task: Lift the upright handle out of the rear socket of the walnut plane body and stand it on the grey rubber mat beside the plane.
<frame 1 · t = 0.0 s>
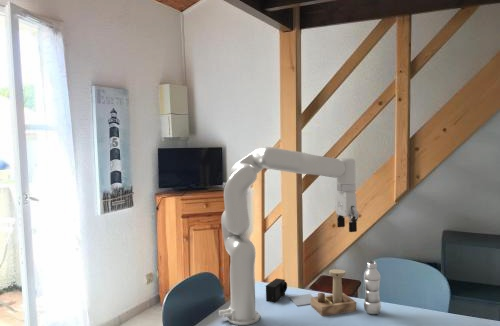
hand: (346, 229, 166), 31 cm above the table, tool pointing down, fingers open, 9 cm apart
digital camera: (277, 298, 175), on the table
mat: (303, 300, 172), on the table
handle: (337, 308, 164), resting in plane body
plane body: (333, 308, 163), on the table
plastic bottle: (372, 313, 158), on the table
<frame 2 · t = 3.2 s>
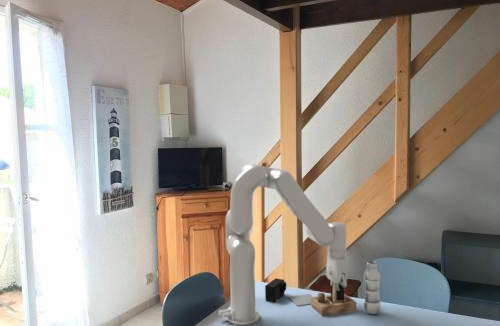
hand: (337, 297, 163), 4 cm above the table, tool pointing down, fingers closed on handle, 4 cm apart
handle: (337, 308, 164), resting in plane body, touching gripper
everything else where it was.
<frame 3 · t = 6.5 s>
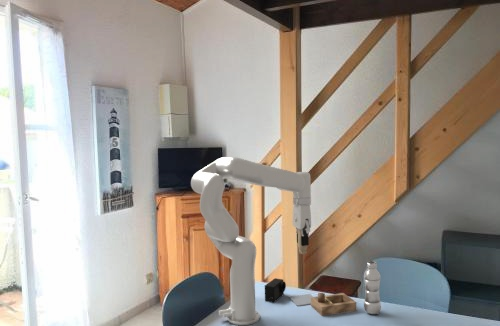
hand: (302, 243, 171), 25 cm above the table, tool pointing down, fingers closed on handle, 4 cm apart
handle: (303, 254, 171), point 20 cm above the table, touching gripper
everything else where it was.
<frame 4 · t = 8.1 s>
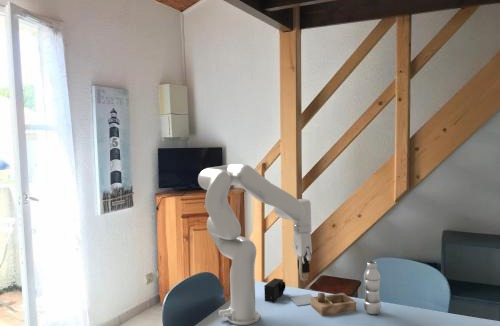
hand: (303, 270, 172), 13 cm above the table, tool pointing down, fingers closed on handle, 4 cm apart
handle: (304, 280, 172), point 8 cm above the table, touching gripper
everything else where it was.
when the fingers open (6 cm above the table, at t = 9.6 s): handle stays where it is, resting on mat.
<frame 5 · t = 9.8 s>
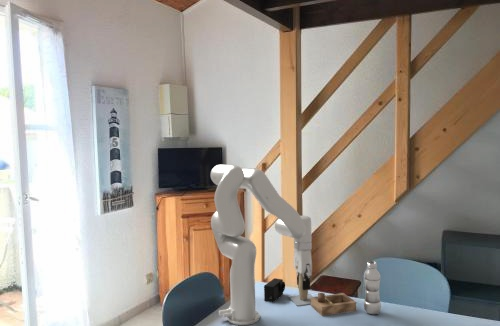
hand: (303, 286, 172), 6 cm above the table, tool pointing down, fingers open, 5 cm apart
handle: (303, 299, 172), resting on mat
everything else where it was.
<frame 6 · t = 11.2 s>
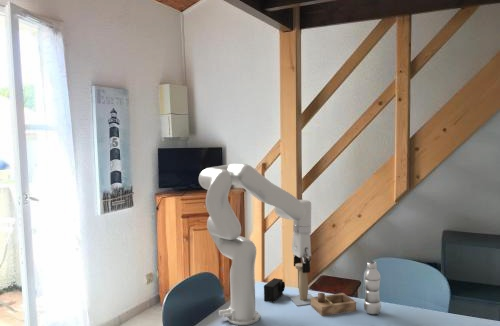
hand: (301, 269, 171), 14 cm above the table, tool pointing down, fingers open, 9 cm apart
nothing on the table moved.
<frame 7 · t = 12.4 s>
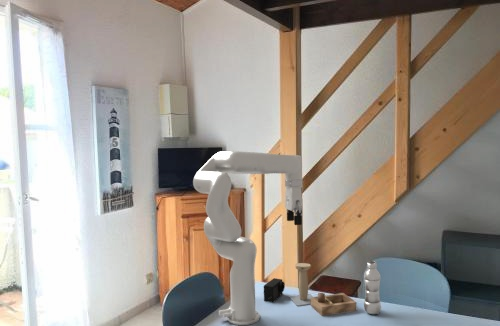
hand: (294, 222, 175), 33 cm above the table, tool pointing down, fingers open, 9 cm apart
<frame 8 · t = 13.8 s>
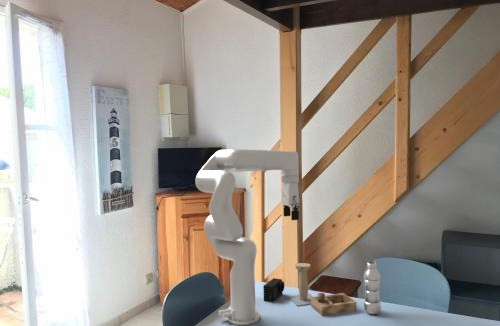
hand: (291, 217, 178), 34 cm above the table, tool pointing down, fingers open, 9 cm apart
at the end: handle inside the target area on the mat (0.1 cm from its centre), point 0.2 cm above the mat's base; handle tilted 0°; the gripper is holding nothing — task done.
